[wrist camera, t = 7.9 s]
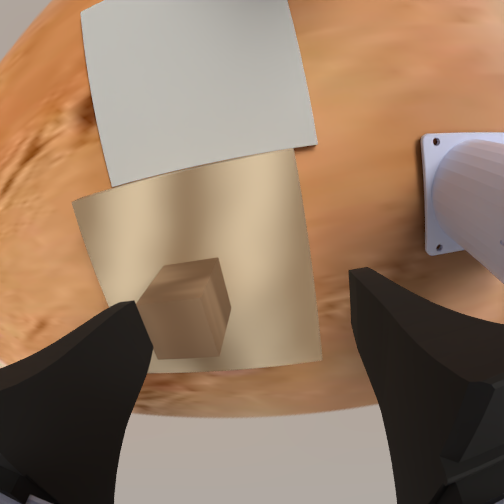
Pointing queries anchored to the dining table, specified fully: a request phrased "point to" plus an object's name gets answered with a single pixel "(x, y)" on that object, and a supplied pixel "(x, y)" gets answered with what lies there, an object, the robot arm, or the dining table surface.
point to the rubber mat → (193, 83)
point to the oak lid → (210, 263)
